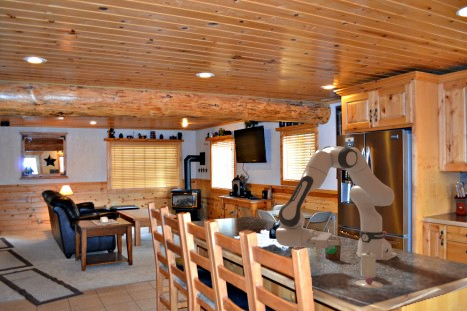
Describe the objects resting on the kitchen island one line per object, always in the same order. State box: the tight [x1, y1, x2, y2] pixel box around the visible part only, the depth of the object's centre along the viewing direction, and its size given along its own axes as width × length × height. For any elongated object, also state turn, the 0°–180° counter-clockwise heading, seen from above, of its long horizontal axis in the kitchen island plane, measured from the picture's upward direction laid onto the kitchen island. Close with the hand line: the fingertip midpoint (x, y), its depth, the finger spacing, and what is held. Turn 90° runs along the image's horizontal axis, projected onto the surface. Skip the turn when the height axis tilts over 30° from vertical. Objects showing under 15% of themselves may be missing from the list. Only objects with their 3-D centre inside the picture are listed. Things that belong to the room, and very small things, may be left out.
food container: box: [324, 240, 343, 261], centre depth 217 cm, size 12×6×10 cm, turn 21°
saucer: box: [354, 279, 384, 289], centre depth 170 cm, size 11×11×1 cm
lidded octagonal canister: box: [360, 251, 377, 279], centre depth 182 cm, size 6×6×11 cm
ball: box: [364, 277, 374, 284], centre depth 170 cm, size 3×3×3 cm
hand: (339, 241), depth 186 cm, fingers open, 8 cm apart
